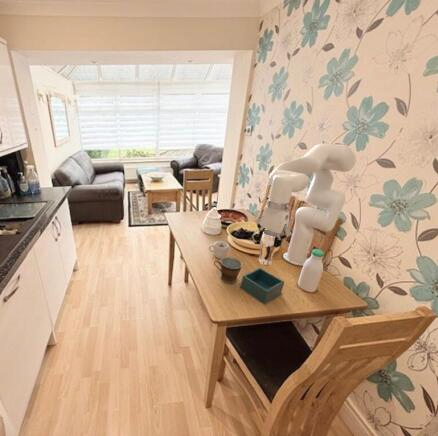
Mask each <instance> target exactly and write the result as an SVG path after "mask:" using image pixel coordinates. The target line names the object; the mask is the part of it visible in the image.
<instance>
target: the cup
mask: <svg viewBox="0 0 438 436" xmlns="http://www.w3.org/2000/svg"><path fill="white" fill-rule="evenodd" d="M211 247H212V248H213V249H211ZM229 248H230V245H229V244H228V242H225V241H221V240H218V241H215V242H214V243H211V244H209V245H208V250H209V252H211V253H213V254H214V257H215V258H217V259H220V260H221V259H222V258H225V257H227V254H228V252H229Z"/></svg>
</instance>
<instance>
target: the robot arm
mask: <svg viewBox="0 0 438 436" xmlns="http://www.w3.org/2000/svg"><path fill="white" fill-rule="evenodd" d="M356 162H357V155H356V154H355V152H354V151H353V149H352V148H351V147H350V146H348V145H346V144H338V143H318V144H316V145H314V146H313V147H312V148H311V149H310V150H309V151H307V152H306V153H305V154H304V155H303V156H302V157H297V158H295V159H294V158H293V159H290V160H287V161H284V162H282V163H280V164H278V166H276V168H274V170H273V171H272V172H271V173H270V175H269V177H268V182H269V185H270V190H269V195H268V199H267V204H266V205H265V206H264V209H263V211H262V214H261V216H260V218H258V219H255V221H254V222H255V224H256V226H257V228H258V241H260V240H261V236H262V233H263V231H264V230H270V231H273V232H275V233H276V234H277V238H278V239H276V242H275V246H274V247H275V248H276V249H277V248H279V247H281V246H282V243H283V240H284V239H287V238H288V237H291V238H290V241H289V244H288V248H287V252H284V253H283V255H282V257H283V259H284V260H285V261H286V262H287V263H289V264H291V265H294V266H302V267H303V265H304V263H305V262H306V261H307V260H308V259H309V258H308V256H309V255H308V254H310V253H311V252H310V249H311V245H312V242H313V239H314V236H315V232H314V229H317V230H318V231H323V232H330V231H332V230H333V229H334V228H335V225H336V223H337V221H338V219H339V216H340V214H341V211H342V209H343V207H344V205H345V203H346V202H345V201H346V194H345V193H344V192H342V191H340V190H336V189H335V190H334V189H331V188H332V185H333V183H334V175H333V173H332V171H336V172H343V173H347V172H350V171H351V170H352V169H354V167H355V165H356ZM311 174H313V178H312V180H311V183H310V179H309V176H308V175H311ZM309 183H310V186H309ZM308 186H309V187H308ZM307 187H308V191H307V192H306V196H305V202H306V204H309V205H311V206H314V207H317V208H314V207H311V206H301V207H299V208H298V209H296V211H295V214H294V215H295V216H294V227H293V230H292V231H291V230H290V228H289V223H290V210H291V209H292V206H291V205H290V201H291V197H292V193H300V192H302V191H304V190H305V189H306V188H307ZM318 208H319V209H318ZM320 208H322V209H326V210H327V211H326V210H322V209H320ZM284 233H285V234H284Z"/></svg>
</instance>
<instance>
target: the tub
mask: <svg viewBox="0 0 438 436" xmlns="http://www.w3.org/2000/svg"><path fill="white" fill-rule="evenodd" d="M284 285H285V281H284V280H282V279H280V278H279V277H277V276H275V275H274V274H271V273H270V272H268V271H266V270H264V269H263V268H261V267H258V268H256V269H254V270H252V271H250V272H248V273H246V274H244V275H242V277H241V282H240V288H241V289H243V290H244V292H246V293H247V294H249V295H251V296H252V297H253V298H254V299H257V301H259V302H261V303H262V304H263V305H265V304H266V303H268V302H270V301H271V300H273V299H274V298H277V297H278V296H279V295H281V294H282V292H283V288H284Z"/></svg>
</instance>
